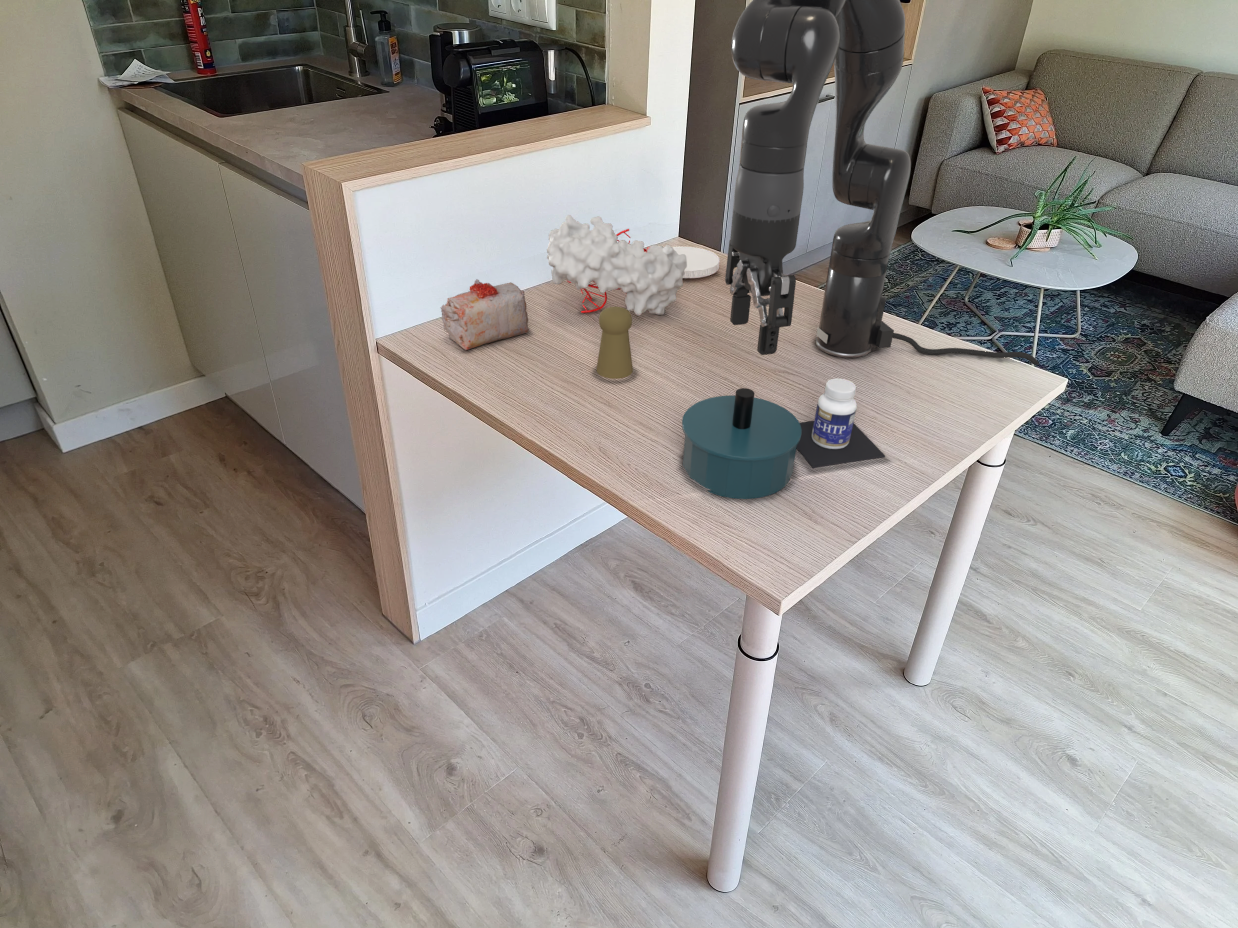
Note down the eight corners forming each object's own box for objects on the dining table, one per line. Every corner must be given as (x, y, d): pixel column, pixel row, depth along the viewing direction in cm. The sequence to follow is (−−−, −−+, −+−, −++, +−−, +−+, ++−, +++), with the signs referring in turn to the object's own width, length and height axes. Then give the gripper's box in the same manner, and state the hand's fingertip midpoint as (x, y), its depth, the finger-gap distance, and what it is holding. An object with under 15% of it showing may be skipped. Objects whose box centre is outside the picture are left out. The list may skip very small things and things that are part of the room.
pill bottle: (807, 445, 118) (817, 389, 113) (815, 427, 122) (824, 372, 117) (846, 453, 116) (857, 397, 111) (852, 435, 120) (863, 380, 115)
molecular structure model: (610, 322, 170) (509, 270, 154) (657, 240, 166) (559, 178, 150) (659, 360, 155) (553, 306, 139) (712, 271, 151) (609, 205, 135)
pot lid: (770, 396, 119) (775, 358, 116) (821, 455, 107) (828, 415, 104) (666, 409, 116) (668, 371, 112) (705, 472, 103) (709, 431, 100)
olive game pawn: (629, 384, 133) (631, 319, 127) (592, 379, 134) (592, 315, 128) (636, 366, 138) (638, 304, 132) (600, 362, 139) (600, 300, 133)
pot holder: (846, 420, 125) (846, 415, 125) (884, 460, 117) (885, 455, 116) (778, 429, 123) (778, 425, 122) (812, 471, 114) (812, 466, 114)
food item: (462, 355, 140) (456, 300, 135) (441, 338, 146) (435, 284, 140) (532, 336, 147) (530, 282, 142) (510, 320, 152) (507, 267, 147)
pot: (764, 432, 122) (769, 394, 118) (809, 490, 110) (817, 449, 107) (668, 445, 119) (671, 407, 115) (705, 506, 107) (709, 465, 104)
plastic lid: (637, 272, 172) (638, 260, 171) (673, 253, 182) (673, 241, 181) (697, 288, 166) (698, 276, 165) (730, 267, 176) (731, 255, 174)
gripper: (826, 224, 90) (805, 360, 99) (771, 186, 101) (757, 311, 110) (761, 230, 88) (746, 368, 97) (712, 190, 99) (703, 317, 108)
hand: (752, 337), depth 104 cm, fingers open, 8 cm apart
